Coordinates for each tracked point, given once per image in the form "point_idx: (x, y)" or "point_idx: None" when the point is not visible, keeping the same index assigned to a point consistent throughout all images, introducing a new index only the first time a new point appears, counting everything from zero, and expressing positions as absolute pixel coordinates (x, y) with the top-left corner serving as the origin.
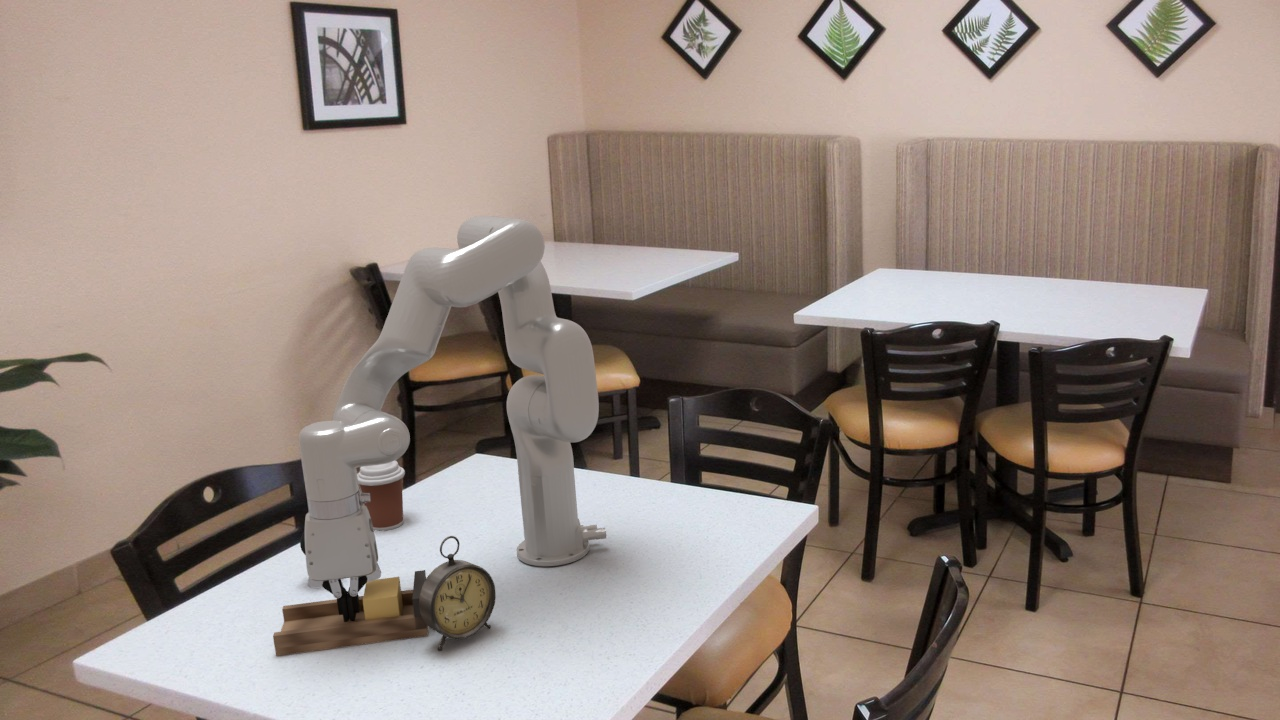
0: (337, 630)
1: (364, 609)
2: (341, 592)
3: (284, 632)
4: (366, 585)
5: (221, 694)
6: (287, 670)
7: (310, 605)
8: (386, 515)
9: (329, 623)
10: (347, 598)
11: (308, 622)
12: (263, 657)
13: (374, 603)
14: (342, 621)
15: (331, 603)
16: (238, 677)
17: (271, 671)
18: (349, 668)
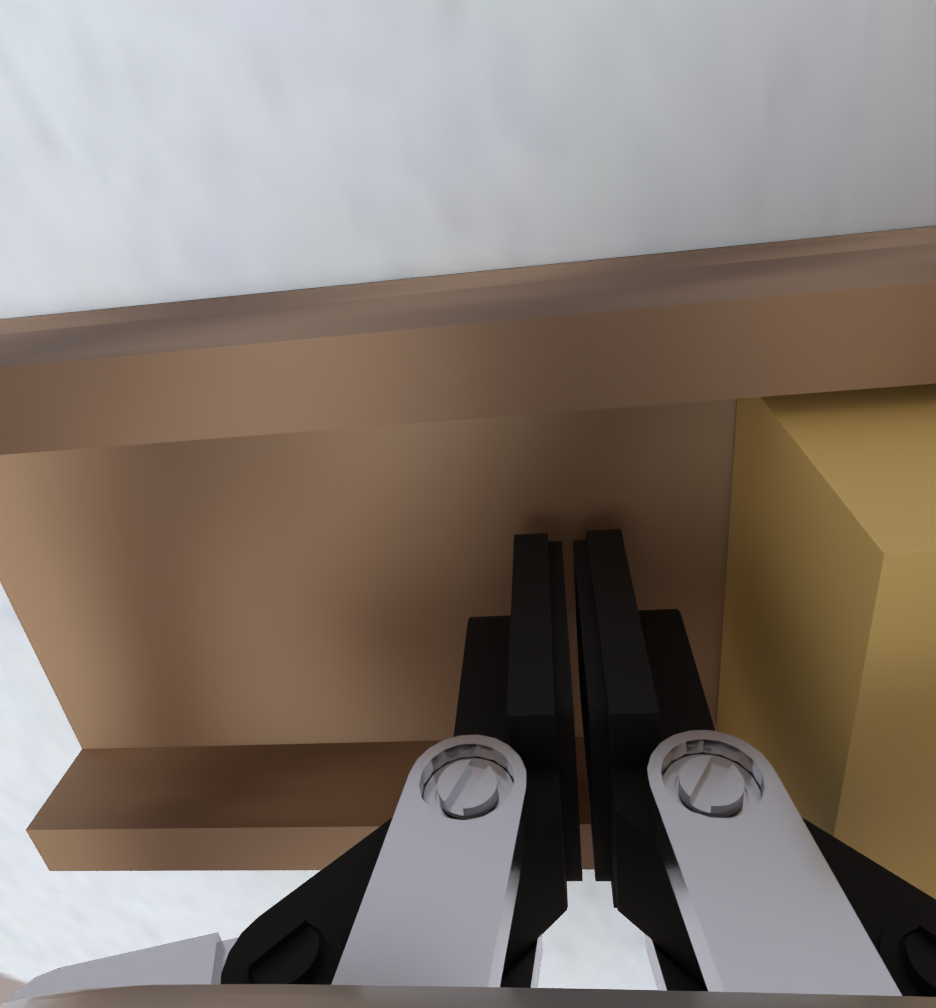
0: None
1: None
2: (540, 951)
3: (108, 846)
4: (872, 708)
5: (44, 968)
6: (270, 875)
7: (89, 436)
8: None
9: (370, 539)
10: (602, 877)
11: (167, 483)
12: (54, 741)
13: None
14: (480, 526)
15: (322, 429)
16: (35, 878)
17: None
18: (613, 922)
